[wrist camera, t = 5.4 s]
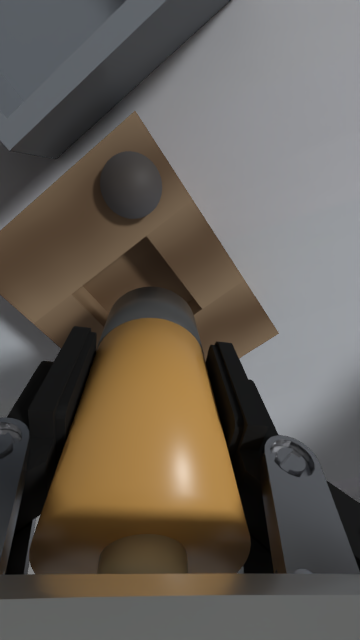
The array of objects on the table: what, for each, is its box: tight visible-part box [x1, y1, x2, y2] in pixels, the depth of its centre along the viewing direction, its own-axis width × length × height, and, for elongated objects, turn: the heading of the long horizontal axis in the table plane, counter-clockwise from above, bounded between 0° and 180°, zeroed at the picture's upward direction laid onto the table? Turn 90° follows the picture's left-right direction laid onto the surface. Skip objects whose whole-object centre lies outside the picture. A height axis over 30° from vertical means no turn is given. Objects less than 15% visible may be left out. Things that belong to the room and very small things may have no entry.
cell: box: [29, 287, 251, 574], centre depth 9 cm, size 4×4×10 cm
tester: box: [0, 111, 279, 362], centre depth 18 cm, size 14×11×4 cm
